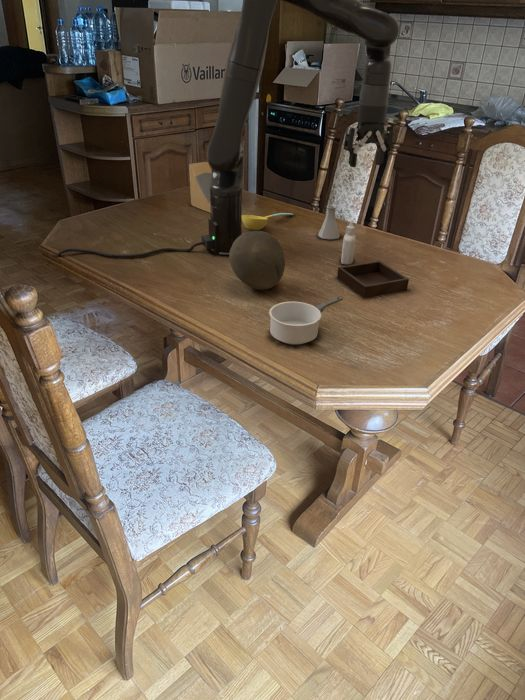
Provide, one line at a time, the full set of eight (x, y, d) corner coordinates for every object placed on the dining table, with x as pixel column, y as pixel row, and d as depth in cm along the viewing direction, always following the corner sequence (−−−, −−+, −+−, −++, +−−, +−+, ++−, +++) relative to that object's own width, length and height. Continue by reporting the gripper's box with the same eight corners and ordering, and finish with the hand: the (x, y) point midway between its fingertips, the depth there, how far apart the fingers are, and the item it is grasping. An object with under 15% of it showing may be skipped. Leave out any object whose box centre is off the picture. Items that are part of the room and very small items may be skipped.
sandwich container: (215, 215, 193) (214, 172, 186) (190, 205, 203) (188, 164, 195) (233, 210, 198) (233, 168, 191) (208, 201, 208) (207, 160, 200)
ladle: (234, 228, 179) (236, 210, 177) (280, 227, 200) (282, 211, 198) (255, 233, 174) (257, 215, 172) (299, 231, 195) (302, 215, 193)
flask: (340, 240, 174) (344, 210, 169) (318, 239, 174) (321, 209, 169) (338, 233, 181) (341, 203, 175) (317, 232, 181) (319, 202, 175)
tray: (363, 298, 138) (365, 286, 137) (336, 278, 149) (338, 267, 147) (407, 290, 143) (409, 279, 142) (378, 271, 154) (379, 260, 152)
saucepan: (356, 327, 125) (359, 306, 122) (290, 353, 115) (291, 330, 112) (322, 308, 133) (324, 288, 130) (258, 331, 122) (258, 309, 119)
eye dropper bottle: (335, 261, 159) (339, 222, 153) (346, 257, 162) (351, 218, 156) (346, 266, 156) (351, 226, 150) (358, 261, 160) (363, 221, 153)
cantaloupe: (277, 275, 149) (279, 222, 142) (288, 297, 138) (291, 241, 130) (227, 278, 147) (226, 224, 139) (233, 300, 135) (233, 244, 127)
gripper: (358, 105, 138) (351, 170, 146) (403, 104, 143) (394, 167, 151) (342, 101, 143) (336, 164, 152) (387, 100, 148) (379, 161, 157)
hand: (365, 165), depth 152 cm, fingers open, 8 cm apart
